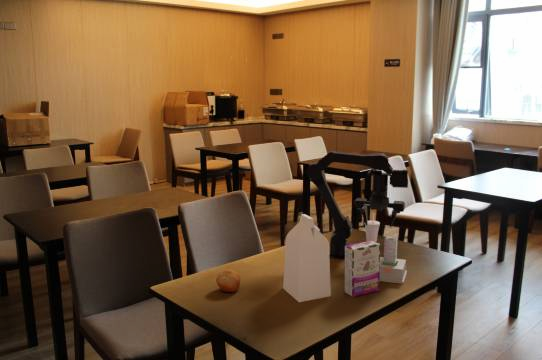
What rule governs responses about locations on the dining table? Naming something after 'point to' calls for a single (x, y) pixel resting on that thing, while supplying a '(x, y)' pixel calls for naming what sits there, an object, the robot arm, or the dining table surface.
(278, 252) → the dining table surface
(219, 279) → the fruit
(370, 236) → the smoothie
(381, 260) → the stand base
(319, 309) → the dining table surface
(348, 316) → the dining table surface
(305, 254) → the milk
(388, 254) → the column
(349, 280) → the candy bar box
